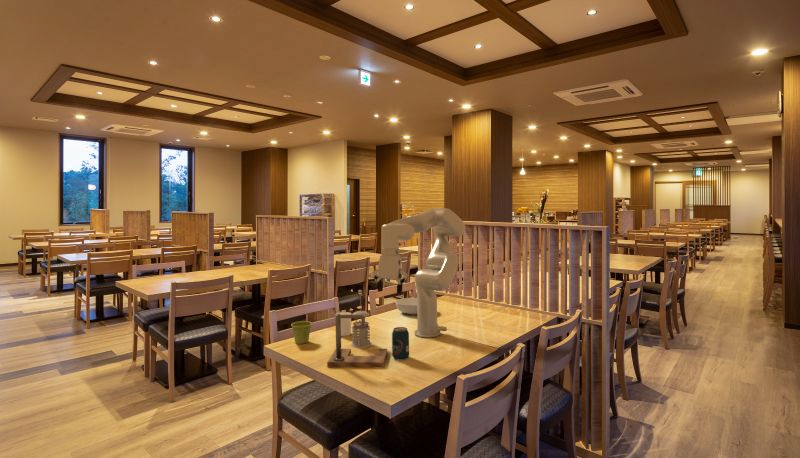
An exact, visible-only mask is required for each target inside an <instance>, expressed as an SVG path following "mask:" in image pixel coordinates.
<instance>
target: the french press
mask: <svg viewBox="0 0 800 458" xmlns="http://www.w3.org/2000/svg"><path fill="white" fill-rule="evenodd" d="M357 291H358V292H357V293H359V296H360V297H359V300H360V301H359V302H360V304H359V305H360V307H359V308H360V310H358V311H355V312H353V313H351V315H363V317H365V318H367V317H369V316H370V315H371V314H370V313H369V312H367V311H365V310H362V306H361V305H362V304H361V303H362V299H361V297H362V293H363V290H362V289H359V290H357ZM352 324H353V326H351V328H352V329H351V331H352V332H351V333H352V343H351V344H350V347H352V348H354V349H365V348H369V347H371V346H373V343H372V342H371V340H370V339H371V337H370V336H371V335H370V330H371V329H370V325H369V324H370V322H368V321H365V325H362V320H361V319H359V320H357V319H356V320H355V321H354V322H353V323H352Z"/></svg>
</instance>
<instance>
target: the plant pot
mask: <svg viewBox="0 0 800 458" xmlns="http://www.w3.org/2000/svg"><path fill="white" fill-rule="evenodd" d="M312 324H313V323H312V322H311V321H309V320H308V321H307V320H300V321H295V322H292V323H291V324H290V326H291V327H292V331H293V338H294V343H295V344H298V345H302V344H308V343H309V341H310V332H311V328H312Z"/></svg>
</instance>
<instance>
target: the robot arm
mask: <svg viewBox="0 0 800 458" xmlns="http://www.w3.org/2000/svg"><path fill="white" fill-rule="evenodd" d="M465 225H466V224H465V223H464V221H463V219H461V218H460V217H459V215H457V214H456V213H455V212H454V211H453V210H451V209H449V208H448V207H447V208H442V207H441V208H440V207H437V208H435V207H434V208H430V209H427V210H425V211H423V212H420V213H418V214H415V215H411V216H407V217H404V218H400V219H397V220H394V221H391V222H389V223H385V224H383V225H381V233H380V234H381V237H380V238H381V246H380V249H381V250H380V253H381V254H380V255H379V259H378V267H377V269H376V270H374V271H372V272H371V273H372V276H373V278H374V280H375V282H376V285H377V286H376V287H377V292H383V290H384V289H383V288H384V283H383V280H395V281H396V283H397V285H396V294H400V295H401V294H402V293H403V284H405V282H406V281H407V279H408V276H409V274H408V273H407V272H405V271H404V270H403V263H402V258H401V257H402V256H401V255H400V254H402V251H401V250H400V245H399V244H400V243H399V242H400V241H401V242H403V241H404V242H405V241H407V242H408V241H410V240H412V239H413V237H414V236H415V234H418V233H424V232H426V231H427V230H429V229H432V230H433V231H432V232H433V235H434V244H433V246H432V248H431V251H430V253H429V255H428V257H427V259H426V261H425V262H426V263H425V265H426V268H422V269H419V270H417V271H416V273H415V274H414V284H415V288H416V298H417V314H416V316H417V329H416V330H414V333H413V334H414V336H416V337H420V338H424V339H425V338H428V339H429V338H436V337H439V336H440V335H441V332H447V330H448V328H447V326H444V325H439V324H438V297H437V294H436V291H438V292H443V291H446V290H447V289H449V287H450V285H451V283H452V281H453V279H454V277H455V275H456V272H457V270H458V268H459V258H458V257H457V254H455V253H453V252H451V248H452V246H451V243H450V241H449V239H448V237H460V236H463V235H464V234H465V232H466V226H465Z"/></svg>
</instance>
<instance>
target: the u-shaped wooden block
mask: <svg viewBox="0 0 800 458" xmlns="http://www.w3.org/2000/svg"><path fill="white" fill-rule="evenodd" d="M351 354H352V348H341V356H342V357H344V360H342V361H334V357H336V348H335V349H334V350H333V352H332V354H331V356H330V357H329V358H328V360H327V362H326V363H327V366H326V367H327V368H385V363H386V360H387V357H388V348H378V351H377V354H376V355H351Z"/></svg>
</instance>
